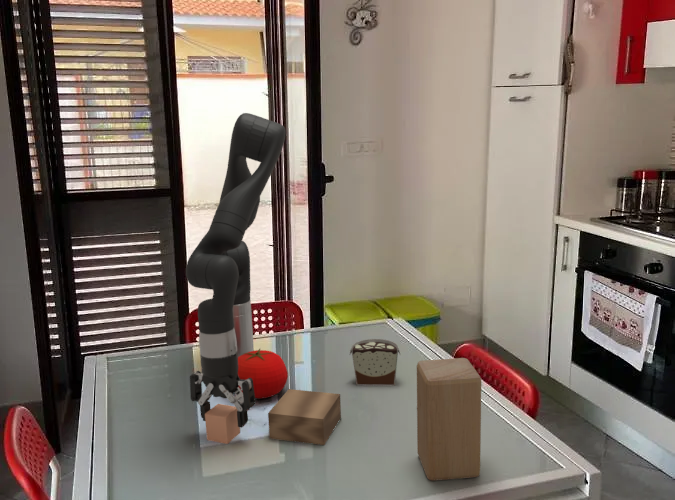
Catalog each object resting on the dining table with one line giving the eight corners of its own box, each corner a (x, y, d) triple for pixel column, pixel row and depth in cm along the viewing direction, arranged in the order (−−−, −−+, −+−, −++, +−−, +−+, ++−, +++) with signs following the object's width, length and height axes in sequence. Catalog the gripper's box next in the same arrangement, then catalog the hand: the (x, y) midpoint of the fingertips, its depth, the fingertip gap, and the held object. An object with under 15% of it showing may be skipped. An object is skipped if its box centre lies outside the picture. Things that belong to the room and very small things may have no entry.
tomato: (298, 387, 162) (296, 347, 159) (272, 409, 150) (269, 367, 148) (249, 379, 168) (246, 340, 165) (220, 400, 156) (216, 358, 154)
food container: (401, 375, 167) (400, 338, 164) (400, 385, 161) (400, 347, 158) (352, 375, 168) (351, 338, 166) (350, 385, 162) (349, 346, 160)
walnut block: (269, 439, 138) (268, 413, 136) (290, 413, 149) (288, 389, 147) (324, 446, 134) (323, 419, 133) (341, 419, 145) (340, 394, 144)
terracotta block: (207, 440, 138) (204, 413, 136) (220, 429, 142) (218, 403, 141) (227, 444, 136) (225, 417, 135) (240, 433, 140) (238, 407, 139)
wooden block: (416, 454, 129) (415, 358, 125) (466, 451, 130) (467, 355, 125) (427, 483, 119) (427, 380, 115) (481, 479, 120) (483, 376, 116)
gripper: (178, 352, 134) (185, 426, 137) (239, 360, 129) (245, 436, 132) (199, 340, 141) (205, 410, 144) (258, 346, 135) (263, 419, 139)
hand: (224, 422), depth 138 cm, fingers open, 8 cm apart
